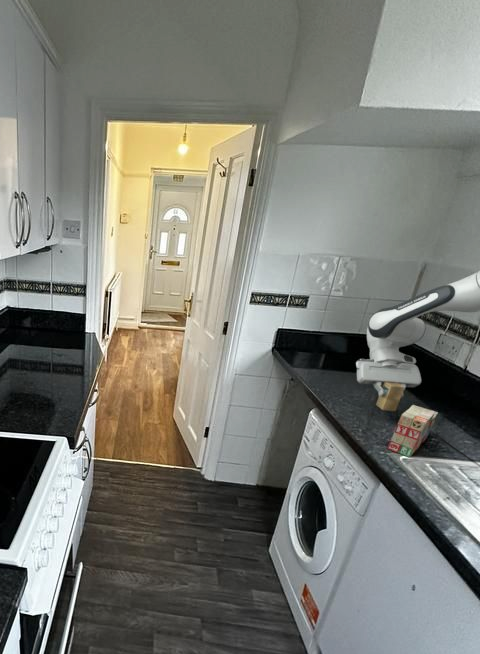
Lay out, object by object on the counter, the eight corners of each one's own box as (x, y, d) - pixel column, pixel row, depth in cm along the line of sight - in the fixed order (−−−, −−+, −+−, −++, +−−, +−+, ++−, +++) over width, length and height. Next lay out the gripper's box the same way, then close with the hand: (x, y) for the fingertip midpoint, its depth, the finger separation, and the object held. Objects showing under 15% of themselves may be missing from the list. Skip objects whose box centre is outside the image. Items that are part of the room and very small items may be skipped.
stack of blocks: (406, 429, 143) (420, 397, 138) (427, 437, 139) (443, 404, 134) (386, 448, 130) (401, 414, 125) (409, 457, 126) (426, 422, 120)
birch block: (388, 405, 148) (397, 382, 145) (395, 411, 144) (404, 387, 141) (375, 404, 148) (384, 381, 145) (382, 410, 144) (391, 386, 141)
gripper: (360, 354, 146) (365, 390, 141) (420, 358, 145) (428, 395, 140) (350, 362, 152) (355, 397, 147) (408, 366, 151) (415, 401, 146)
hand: (391, 396), depth 144 cm, fingers closed on birch block, 4 cm apart
